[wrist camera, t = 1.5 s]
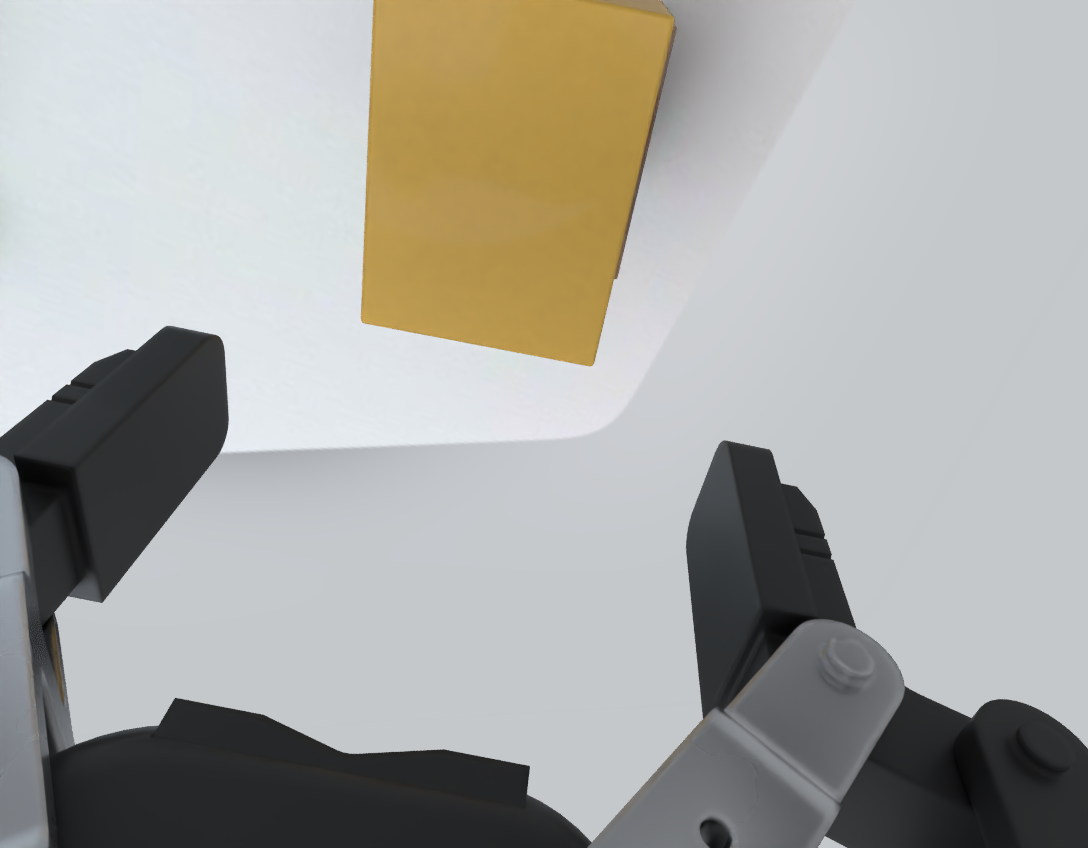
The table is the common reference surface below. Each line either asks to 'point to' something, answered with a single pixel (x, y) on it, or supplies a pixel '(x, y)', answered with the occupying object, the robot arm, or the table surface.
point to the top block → (505, 165)
